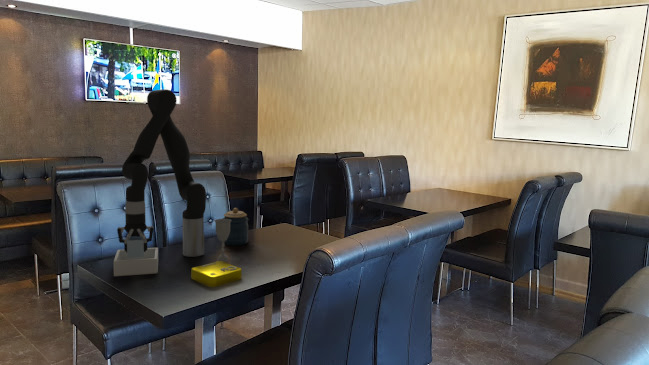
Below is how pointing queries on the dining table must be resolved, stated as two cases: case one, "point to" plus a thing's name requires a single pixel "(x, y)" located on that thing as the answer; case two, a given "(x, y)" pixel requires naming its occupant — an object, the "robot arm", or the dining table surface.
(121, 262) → the large crate
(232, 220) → the canister
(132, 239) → the small crate
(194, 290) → the dining table surface
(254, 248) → the dining table surface
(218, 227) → the chalice
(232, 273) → the element tile
